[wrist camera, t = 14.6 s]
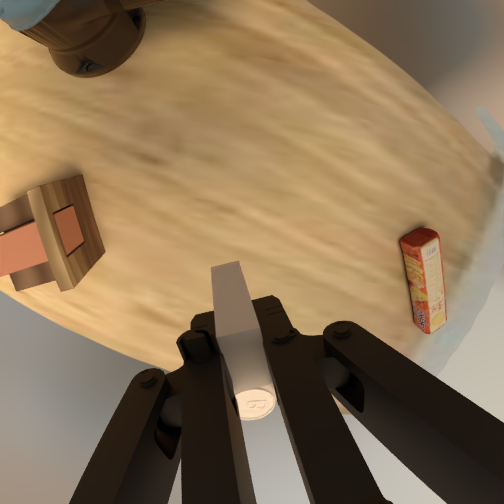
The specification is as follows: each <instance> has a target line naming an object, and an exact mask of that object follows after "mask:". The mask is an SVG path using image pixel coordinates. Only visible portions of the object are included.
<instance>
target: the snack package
mask: <svg viewBox="0 0 504 504" xmlns="http://www.w3.org/2000/svg"><path fill="white" fill-rule="evenodd" d="M401 247H402V250H403V255H404V260H405V265H406V271H407V276H408V282H409V287H410V292H411V298H412V305H413V312H414V321H415V325H416V326H417V327H418V328H419V329H421V330H422V331H423V332H424V333H426V334H431V333H434V332H435V331H437V330H438V329H439V328H441V327H442V326H443V325H444V324H445V323H446V320H447V315H446V300H445V284H444V274H443V264H442V255H441V247H440V237H439V235H438V233H437V232H436V231H434V230H431V229H428V228H420V229H417V230H415V231H413V232H411V233H409V234H408V235H406V236H405V237H403V238H402V239H401Z"/></svg>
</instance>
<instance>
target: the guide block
mask: <svg viewBox="0 0 504 504" xmlns="http://www.w3.org/2000/svg"><path fill="white" fill-rule="evenodd" d="M70 206H74V210H75V213H76V216H77V220H78V223H79V226H80V229H81V232H82V235H83V239H84V241H83V242H82V243H81V244H80V245H78V246H77V247H76V248H75V249H74V250H72V251H71V252H70V253H69V254H68V255H66V253H65V251H64V248H63V245H62V242H61V239H60V236H59V233H58V230H57V227H56V223H55V220H54V217H53V214H52V213H54V212H57V211H59V210H62V209H65V208H68V207H70ZM34 220H35V222H36V226H37V229H38V232H39V235H40V238H41V241H42V244H43V247H44V250H45V253H46V255H47V258H48V261H47V262H44V263H40V264H37V265H34V266H31V267H28V268H25V269H22V270H19V271H16V272H13V273H10V274H9V275H10V277H11V279H12V282H13V284H14V287H15V289H16V291H20V290H23V289H27V288H30V287H34V286H37V285H41V284H44V283H48V282H51V281H55V280H56V281H57V284H58V286H59V289H60V291H61V292H63V291H66V290H70V289H74V288H75V287H76V285H77V284H78V283H79V282H80V281H81V279H82V278H83V277H84V276H85V275H86V274H87V272H88V271H89V270H90V269H91V268H92V267H93V266H94V264H95V263H96V262H97V261H98V260H99V259H100V258H101V257H102V255H103V254H104V253H105V249H104V246H103V243H102V240H101V237H100V234H99V231H98V228H97V224H96V221H95V218H94V215H93V211H92V208H91V204H90V201H89V197H88V194H87V190H86V186H85V182H84V178H83V175H80V176H76V177H72V178H68V179H64V180H60V181H56V182H52V183H48V184H45V185H41V186H38V187H36V188H34V189H32V190H29V191H27V195H25V196H23V197H21V198H18V199H16V200H14V201H12V202H10V203H8V204H6V205H4V206H2V207H0V233H1V232H4V233H5V232H7V231H10V230H12V229H14V228H17V227H19V226H21V225H24V224H26V223H29V222H31V221H34Z"/></svg>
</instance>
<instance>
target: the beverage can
mask: <svg viewBox="0 0 504 504" xmlns="http://www.w3.org/2000/svg"><path fill="white" fill-rule="evenodd" d="M234 394H235V397H236V399H237V402H238V408H239V414H240V419H241V420H256V419H259V418H262V417H264V416H266V415H267V414H269V413H270V412H271V411H272V410H273V408H274V406H275V401H276V394H275V390H274V386H273V384H269V385H265V386H261V387H257V388H253V389H249V390H245V391H240V392H236V393H235V390H234Z"/></svg>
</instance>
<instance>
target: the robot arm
mask: <svg viewBox="0 0 504 504" xmlns="http://www.w3.org/2000/svg"><path fill="white" fill-rule="evenodd" d="M164 1H169V0H0V19H2V20H3V21H4V22H6V23H7V24H9V26H10V27H11V28H12V29H14V30H16V31H18V32H20V33H22V34H24V35H26V36H28V37H30V38H32V39H33V40H35V41H37V42H39V43H41V44H43V45H45V46H46V47H48V48H49V51H50V54H51V56H52V58H53V60H54V62H55V64H56V65H57V66H58V67H59V68H60V69H61V70H63V71H65V72H66V73H68V74H70V75H73V76H76V77H81V78H89V77H96V76H99V75H103V74H105V73H108V72H110V71H112V70H113V69H115V68H117V67H118V66H119V65H121V64H122V63H123V62H125V61H126V60H127V59H128V58H129V57H130V56H131V55H132V54H133V52H134V51H135V50H136V48H137V47H138V45H139V43H140V42H141V39H142V37H143V34H144V30H145V15H144V12H143V10H142V8H141V7H142V6H146V5H151V4H155V3H159V2H164ZM211 276H212V290H213V304H214V311H210V312H205V313H201V314H197V315H195V316H194V318H193V319H192V321H191V330H188V331H186V332H185V333H183V334H182V335H181V336H180V337H179V338H178V339H177V342H176V343H177V346H178V348H179V351H180V353H181V355H182V358H183V360H184V365H183V366H182V367H180V368H179V369H177V370H175V371H173V372H171V373H168V374H166V375H165V374H164V371H162V370H160V369H156V368H151V369H146V370H144V371H141V372H140V373H138V374H137V375H136V376H135V377H134V378H133V379H132V381H131V383H130V385H129V386H128V388H127V390H126V392H125V394H124V396H123V397H122V399H121V401H120V403H119V405H118V407H117V409H116V410H115V412H114V414H113V416H112V418H111V420H110V422H109V424H108V426H107V428H106V430H105V432H104V433H103V435H102V437H101V439H100V441H99V443H98V445H97V447H96V449H95V451H94V453H93V455H92V457H91V459H90V461H89V463H88V466H87V467H86V469H85V471H84V473H83V475H82V477H81V479H80V481H79V484H78V486H77V488H76V490H75V492H74V494H73V496H72V498H71V500H70V503H69V504H168V501H169V497H170V493H171V490H172V487H173V483H174V480H175V476H176V473H177V470H178V466H179V463H180V459H181V476H182V477H181V482H182V483H181V484H182V504H257V503H256V499H255V494H254V489H253V484H252V479H251V474H250V469H249V463H248V458H247V453H246V447H245V442H244V437H243V431H242V426H241V419H240V414H239V408H238V402H237V399H236V397H235V394H234V390H235V393H236V392H240V391H245V390H249V389H253V388H257V387H261V386H265V385H269V384H273V386H274V390H275V394H276V398H277V402H278V405H279V406H280V410H281V413H282V416H283V419H284V423H285V426H286V429H287V432H288V435H289V439H290V442H291V445H292V448H293V451H294V454H295V457H296V461H297V464H298V467H299V470H300V473H301V476H302V479H303V482H304V486H305V489H306V492H307V495H308V498H309V501H310V504H393V503H392V502H391V501H388V500H386V499H385V498H384V497H383V495H382V493H381V492H380V489H379V487H378V486H377V484H376V482H375V480H374V478H373V476H372V474H371V472H370V470H369V468H368V466H367V464H366V462H365V460H364V458H363V456H362V454H361V452H360V450H359V448H358V446H357V444H356V442H355V440H354V438H353V436H352V434H351V432H350V430H349V428H348V426H347V424H346V422H345V420H344V418H343V416H342V414H341V412H340V410H339V408H338V406H337V404H336V402H335V400H334V399H333V397H332V395H333V396H334V397H335V398H336V399H337V400H338V401H339V402H340V403H341V404H342V405H343V406H344V407H345V408H346V409H347V410H348V411H349V412H350V413H351V414H352V415H353V416H354V417H355V418H356V419H357V420H358V421H360V423H361V424H362V425H364V427H366V428H367V429H368V430H369V431H370V432H371V433H372V434H373V435H374V436H375V437H376V438H377V439H378V440H379V441H380V442H381V443H382V444H383V445H384V446H385V447H386V448H387V449H388V450H389V451H390V452H391V453H392V454H394V456H396V457H397V458H398V459H399V460H400V461H401V462H402V463H403V464H404V465H405V466H406V467H407V468H408V469H409V470H410V471H412V472H413V473H414V474H415V475H416V476H417V477H418V478H419V479H420V480H421V481H422V482H424V483H425V484H426V485H427V486H428V487H429V488H430V489H431V490H432V491H434V492H435V493H436V494H437V495H438V496H439V497H440V498H441V499H442V500H444V501H445V502H446V503H447V504H504V423H503V422H502V421H500V420H499V419H497V418H496V417H494V416H493V415H491V414H490V413H488V412H487V411H485V410H484V409H482V408H481V407H479V406H478V405H476V404H475V403H473V402H472V401H471V400H469V399H468V398H466V397H465V396H463V395H461V394H460V393H459V392H457V391H456V390H454V389H453V388H451V387H450V386H448V385H446V384H445V383H444V382H442V381H441V380H439V379H438V378H436V377H435V376H433V375H432V374H430V373H429V372H427V371H426V370H425V369H423V368H422V367H420V366H419V365H417V364H416V363H414V362H413V361H411V360H410V359H408V358H407V357H405V356H404V355H402V354H401V353H399V352H398V351H396V350H395V349H393V348H392V347H390V346H389V345H387V344H386V343H384V342H383V341H381V340H380V339H379V338H377V337H376V336H374V335H373V334H371V333H370V332H368V331H367V330H365V329H364V328H362V327H361V326H359V325H358V324H356V323H354V322H351V321H337V322H334V323H331V324H330V325H328V326H327V327H326V328H325V329H324V331H323V335H316V336H308V335H303V334H300V332H299V331H298V330H297V329H295V328H293V326H292V324H291V322H290V320H289V318H288V316H287V314H286V312H285V310H284V308H283V306H282V304H281V302H280V300H279V299H278V298H276V297H274V296H273V295H270V296H266V297H263V298H259V299H255V300H251V298H250V295H249V292H248V289H247V285H246V282H245V279H244V276H243V273H242V270H241V267H240V263H239V261H235V262H231V263H227V264H223V265H219V266H215V267H211ZM331 394H332V395H331Z"/></svg>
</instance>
